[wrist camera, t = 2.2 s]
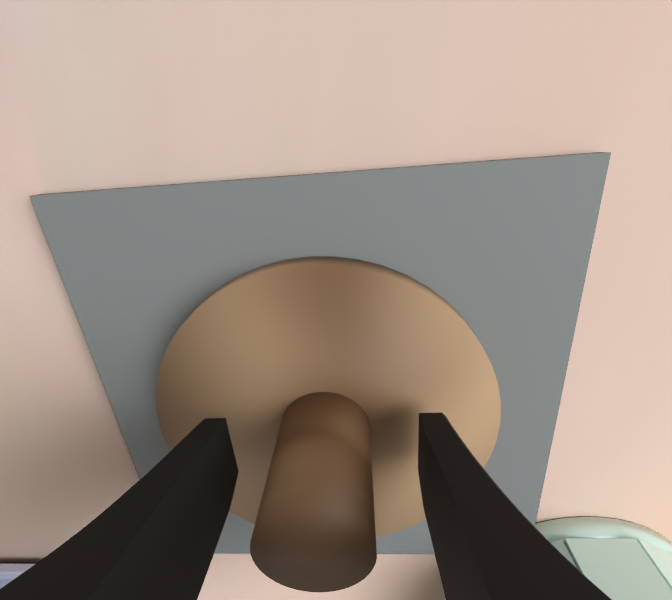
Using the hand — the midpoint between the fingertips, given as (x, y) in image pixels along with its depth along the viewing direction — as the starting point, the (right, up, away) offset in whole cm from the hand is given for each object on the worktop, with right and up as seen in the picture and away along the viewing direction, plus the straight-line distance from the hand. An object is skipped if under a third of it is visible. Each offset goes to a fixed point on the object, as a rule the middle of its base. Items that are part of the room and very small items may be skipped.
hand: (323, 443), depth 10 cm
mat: (0, +1, +2) cm, 2 cm away
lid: (0, +1, +1) cm, 1 cm away
